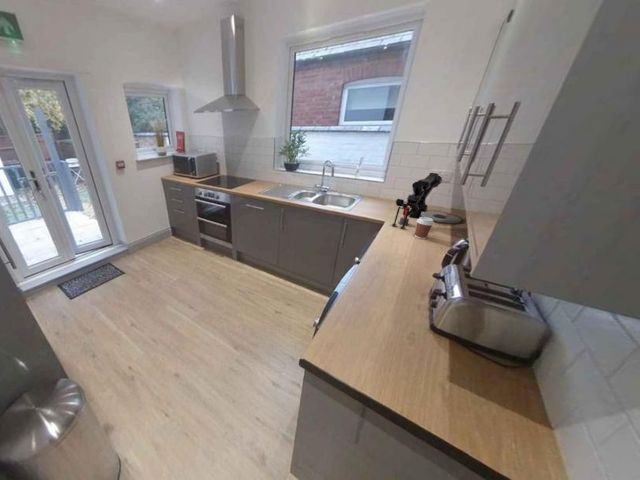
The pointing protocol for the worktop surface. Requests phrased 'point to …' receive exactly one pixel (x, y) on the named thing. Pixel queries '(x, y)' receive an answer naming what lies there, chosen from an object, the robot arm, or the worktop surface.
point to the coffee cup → (423, 227)
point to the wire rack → (397, 216)
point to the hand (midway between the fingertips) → (405, 215)
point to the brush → (404, 218)
